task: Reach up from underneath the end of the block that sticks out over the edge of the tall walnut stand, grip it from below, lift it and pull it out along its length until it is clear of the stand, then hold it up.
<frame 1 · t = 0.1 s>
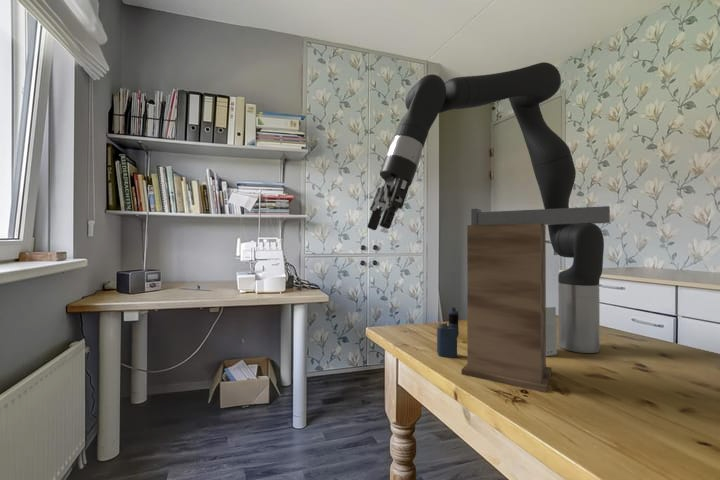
hand: (377, 228, 75), 31 cm above the table, tool tilted 20°, fingers open, 8 cm apart
vaping device: (447, 356, 85), on the table
skincare box: (540, 352, 88), on the table
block: (534, 224, 71), point 32 cm above the table, touching stand
stand: (506, 373, 74), on the table
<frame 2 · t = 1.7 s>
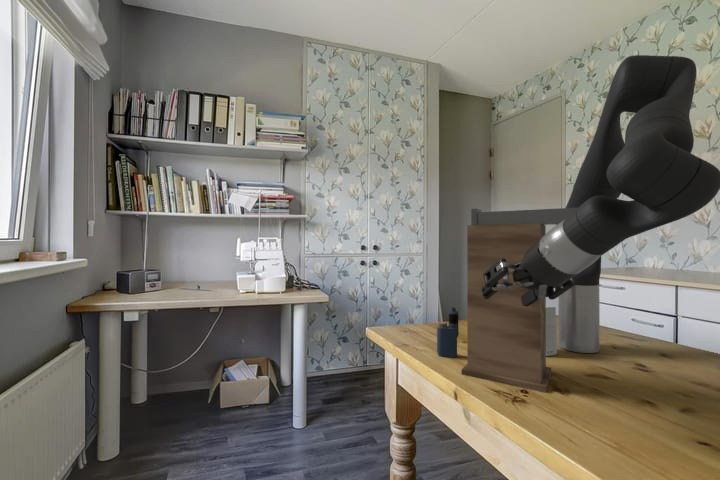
hand: (503, 298, 66), 17 cm above the table, tool tilted 55°, fingers open, 8 cm apart
nothing on the table moved.
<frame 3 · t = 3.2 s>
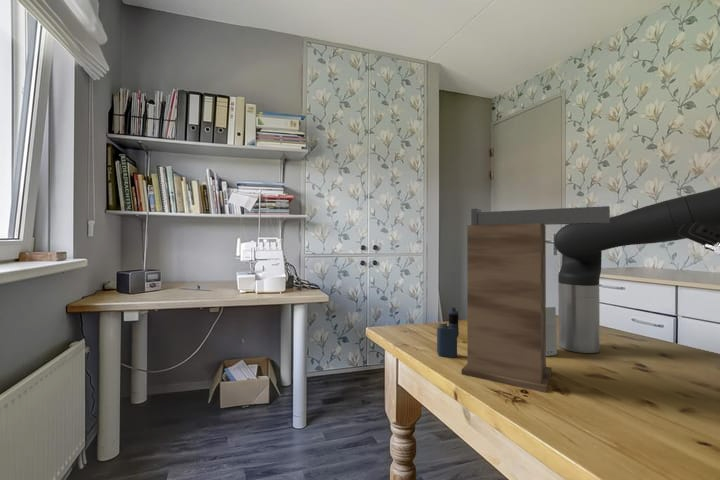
hand: (686, 227, 58), 31 cm above the table, tool pointing upward, fingers open, 8 cm apart
nothing on the table moved.
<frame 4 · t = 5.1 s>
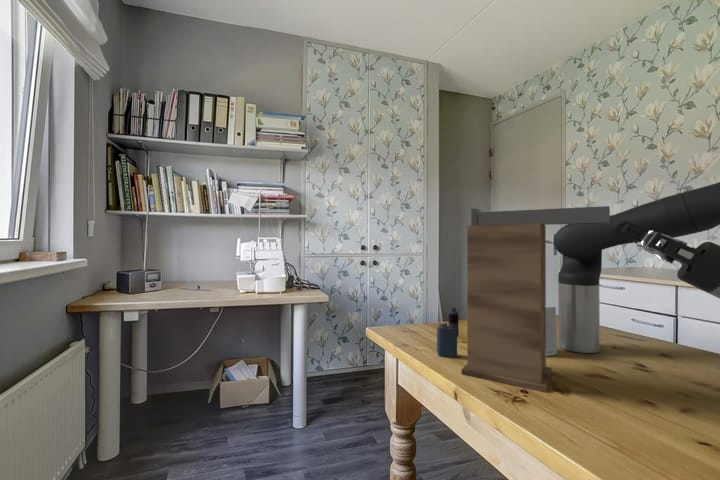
hand: (617, 226, 63), 31 cm above the table, tool pointing upward, fingers open, 8 cm apart
nothing on the table moved.
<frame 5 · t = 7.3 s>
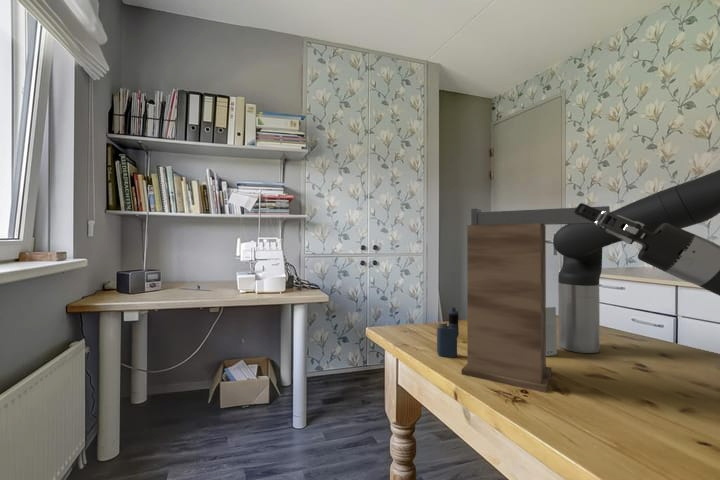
hand: (577, 208, 67), 35 cm above the table, tool pointing upward, fingers closed on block, 3 cm apart
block: (534, 224, 71), point 32 cm above the table, touching gripper, stand
everything else where it was.
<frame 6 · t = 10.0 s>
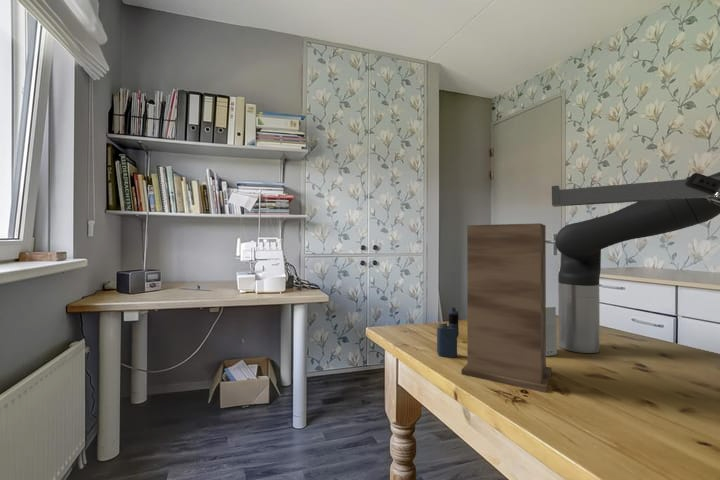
hand: (687, 180, 58), 39 cm above the table, tool pointing upward, fingers closed on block, 3 cm apart
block: (631, 201, 62), point 36 cm above the table, touching gripper
everything else where it was.
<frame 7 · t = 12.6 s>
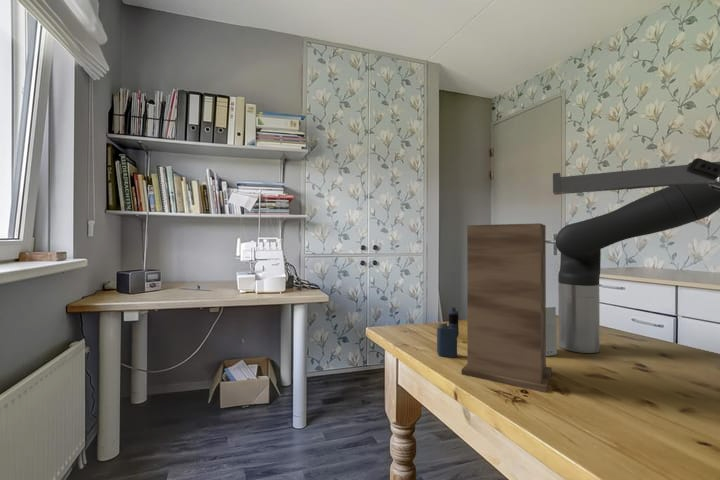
hand: (689, 166, 58), 41 cm above the table, tool pointing upward, fingers closed on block, 3 cm apart
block: (632, 187, 62), point 38 cm above the table, touching gripper
everything else where it was.
at the end: the gripper is holding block; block inside the target area (4.5 cm from its centre), point 38.3 cm above the table; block touching gripper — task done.
